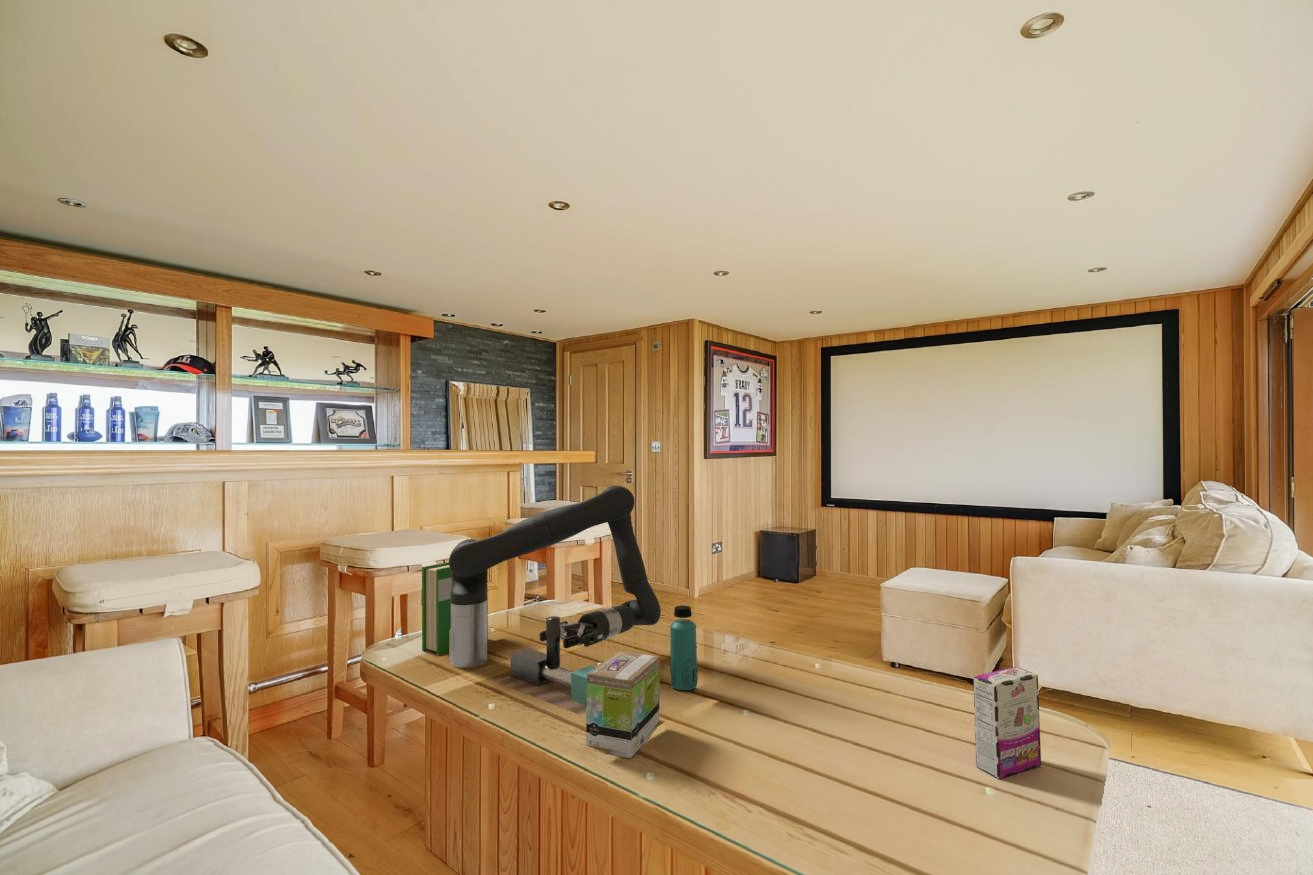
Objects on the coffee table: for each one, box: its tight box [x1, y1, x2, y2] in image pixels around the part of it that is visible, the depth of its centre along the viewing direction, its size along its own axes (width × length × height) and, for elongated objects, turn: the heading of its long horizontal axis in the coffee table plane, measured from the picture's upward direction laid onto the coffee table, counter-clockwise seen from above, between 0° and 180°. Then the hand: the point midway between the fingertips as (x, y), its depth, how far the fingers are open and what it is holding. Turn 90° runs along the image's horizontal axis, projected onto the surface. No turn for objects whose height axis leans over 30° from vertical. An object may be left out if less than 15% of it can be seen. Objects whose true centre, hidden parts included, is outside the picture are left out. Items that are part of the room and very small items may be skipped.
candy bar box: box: [972, 666, 1042, 780], centre depth 111 cm, size 11×5×16 cm, turn 114°
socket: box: [571, 665, 597, 706], centre depth 140 cm, size 7×6×6 cm
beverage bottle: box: [669, 605, 699, 691], centre depth 147 cm, size 6×7×20 cm
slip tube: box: [540, 615, 574, 687], centre depth 149 cm, size 20×3×15 cm, turn 50°
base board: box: [494, 675, 587, 715], centre depth 147 cm, size 30×14×1 cm, turn 50°
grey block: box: [509, 647, 551, 687], centre depth 153 cm, size 10×5×6 cm, turn 50°
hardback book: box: [421, 561, 489, 656], centre depth 183 cm, size 18×7×24 cm, turn 146°
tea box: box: [585, 650, 661, 759], centre depth 123 cm, size 15×10×15 cm, turn 160°
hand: (552, 640), depth 148 cm, fingers open, 8 cm apart
